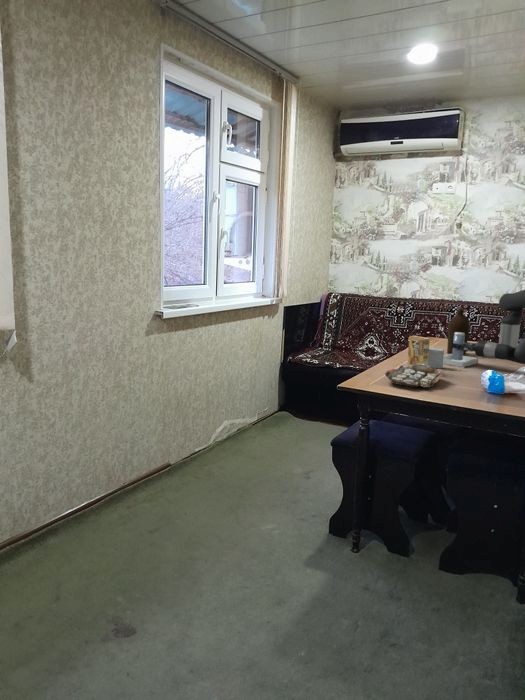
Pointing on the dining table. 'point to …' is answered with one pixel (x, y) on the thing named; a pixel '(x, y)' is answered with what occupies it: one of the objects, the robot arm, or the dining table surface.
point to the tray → (459, 361)
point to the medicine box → (436, 357)
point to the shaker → (459, 339)
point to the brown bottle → (457, 328)
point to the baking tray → (414, 375)
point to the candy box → (418, 350)
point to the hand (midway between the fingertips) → (453, 344)
